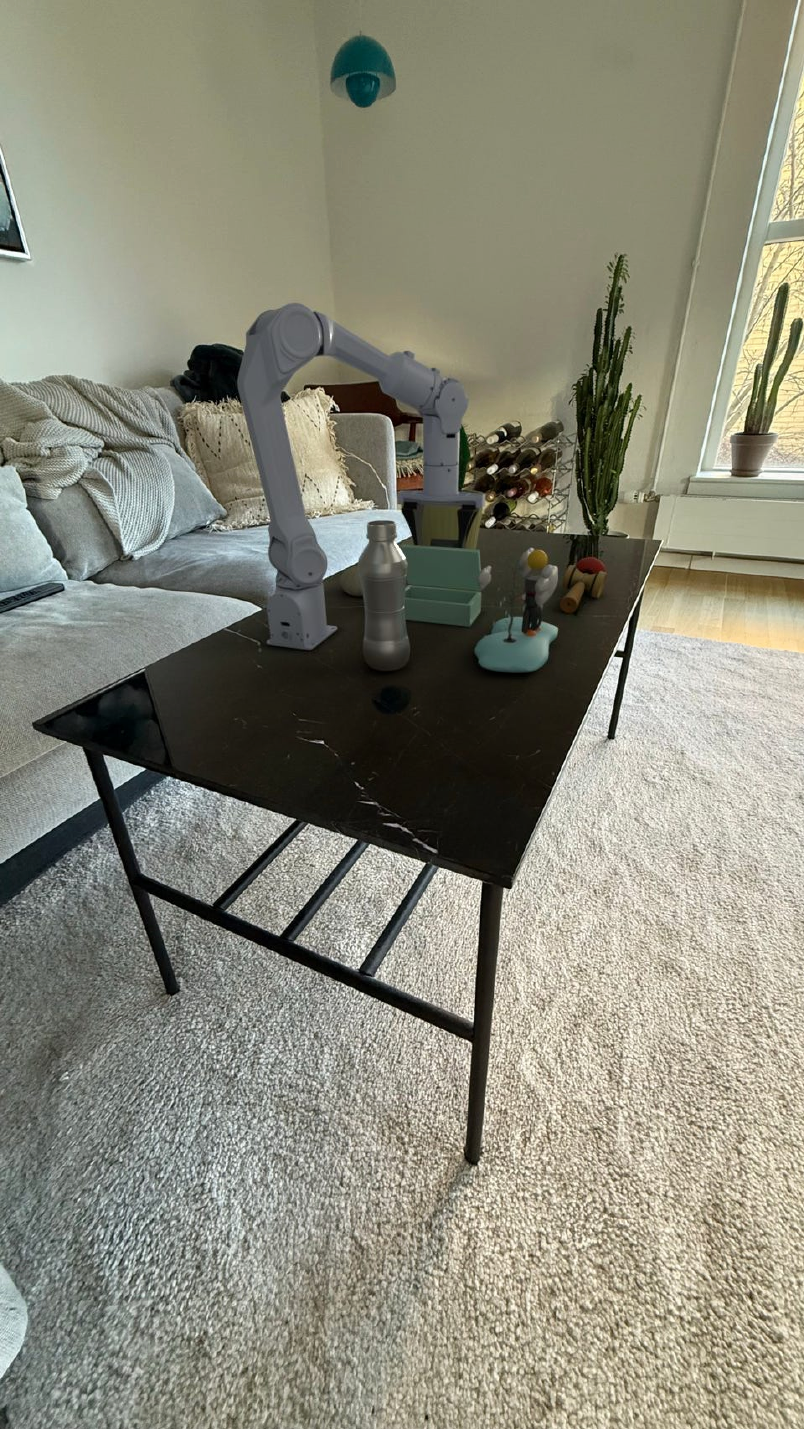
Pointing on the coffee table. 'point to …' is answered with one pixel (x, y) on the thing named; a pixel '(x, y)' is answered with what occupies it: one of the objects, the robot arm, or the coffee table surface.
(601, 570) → the kendama
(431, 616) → the teal open box
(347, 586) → the sea urchin shell
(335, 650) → the coffee table surface
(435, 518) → the potted cactus
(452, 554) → the lid
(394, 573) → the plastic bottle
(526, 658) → the figurine on blue base
